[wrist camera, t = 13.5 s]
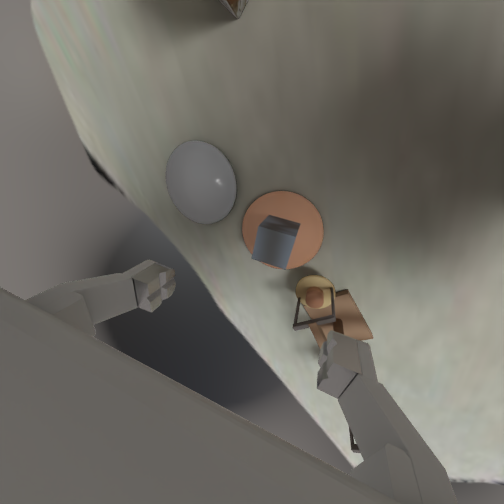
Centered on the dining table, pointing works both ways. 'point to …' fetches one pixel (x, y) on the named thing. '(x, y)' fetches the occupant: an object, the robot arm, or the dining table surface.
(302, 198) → the terracotta dish
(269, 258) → the block
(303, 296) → the balance
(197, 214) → the grey dish
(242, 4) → the coffee box
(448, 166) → the dining table surface
